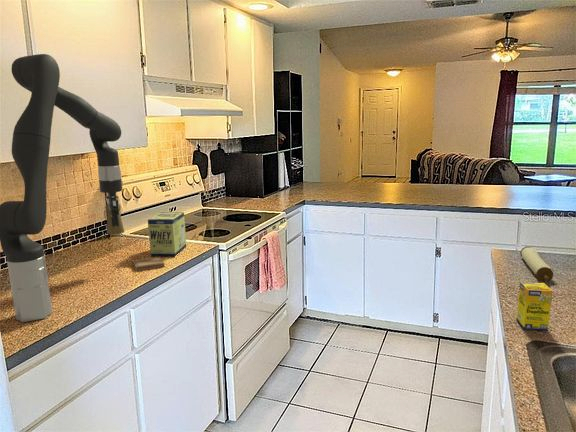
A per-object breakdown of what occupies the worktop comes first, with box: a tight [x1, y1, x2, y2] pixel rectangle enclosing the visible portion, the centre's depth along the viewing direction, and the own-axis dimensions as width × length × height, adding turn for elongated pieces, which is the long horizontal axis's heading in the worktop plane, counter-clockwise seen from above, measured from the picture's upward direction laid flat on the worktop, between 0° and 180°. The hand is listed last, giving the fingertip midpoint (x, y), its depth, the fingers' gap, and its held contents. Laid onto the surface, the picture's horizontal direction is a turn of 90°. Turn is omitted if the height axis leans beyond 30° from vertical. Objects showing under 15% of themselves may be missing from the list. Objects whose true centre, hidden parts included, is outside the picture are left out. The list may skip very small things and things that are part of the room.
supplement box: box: [516, 281, 553, 332], centre depth 117 cm, size 6×6×11 cm
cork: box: [104, 202, 125, 235], centre depth 164 cm, size 6×6×11 cm
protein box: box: [147, 211, 187, 258], centre depth 189 cm, size 10×16×16 cm
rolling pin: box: [520, 246, 555, 282], centre depth 160 cm, size 32×6×5 cm, turn 164°
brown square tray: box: [132, 257, 165, 272], centre depth 173 cm, size 10×10×2 cm
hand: (114, 225), depth 165 cm, fingers closed on cork, 4 cm apart
